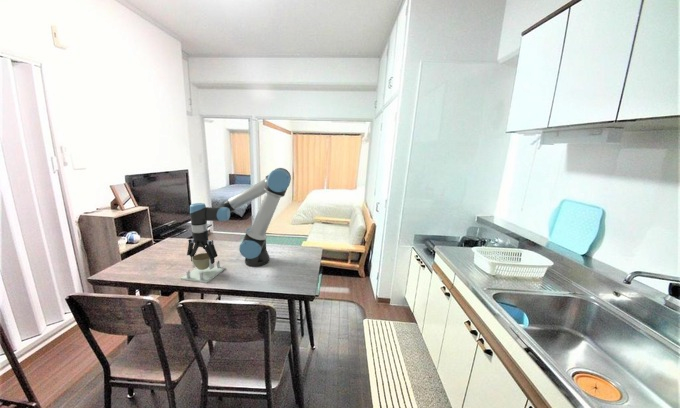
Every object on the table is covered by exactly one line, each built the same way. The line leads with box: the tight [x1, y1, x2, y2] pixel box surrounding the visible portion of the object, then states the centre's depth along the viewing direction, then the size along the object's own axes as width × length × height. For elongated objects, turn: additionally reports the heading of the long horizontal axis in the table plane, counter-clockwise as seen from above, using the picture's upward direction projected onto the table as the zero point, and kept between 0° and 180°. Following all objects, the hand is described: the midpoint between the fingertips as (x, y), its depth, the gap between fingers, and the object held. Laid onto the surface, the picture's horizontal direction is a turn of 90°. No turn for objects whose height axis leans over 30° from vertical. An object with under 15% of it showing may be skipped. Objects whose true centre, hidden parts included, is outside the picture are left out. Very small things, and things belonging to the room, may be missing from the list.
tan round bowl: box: [192, 252, 210, 270], centre depth 136 cm, size 10×10×7 cm
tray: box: [180, 260, 226, 284], centre depth 137 cm, size 16×16×5 cm
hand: (203, 267), depth 136 cm, fingers closed on tan round bowl, 10 cm apart
